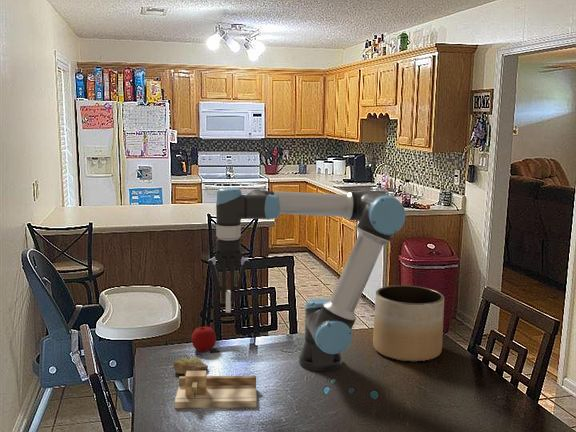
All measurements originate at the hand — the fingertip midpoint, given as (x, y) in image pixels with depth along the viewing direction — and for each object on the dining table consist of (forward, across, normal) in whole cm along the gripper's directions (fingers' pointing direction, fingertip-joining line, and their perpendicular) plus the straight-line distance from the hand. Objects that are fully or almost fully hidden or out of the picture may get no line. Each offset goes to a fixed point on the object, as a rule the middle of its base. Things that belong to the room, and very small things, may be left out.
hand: (228, 311), depth 183 cm
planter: (+25, -66, -27) cm, 75 cm away
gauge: (+22, +9, +12) cm, 27 cm away
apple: (+25, +10, -29) cm, 39 cm away
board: (+24, +3, +10) cm, 27 cm away
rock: (+25, +13, -12) cm, 30 cm away
